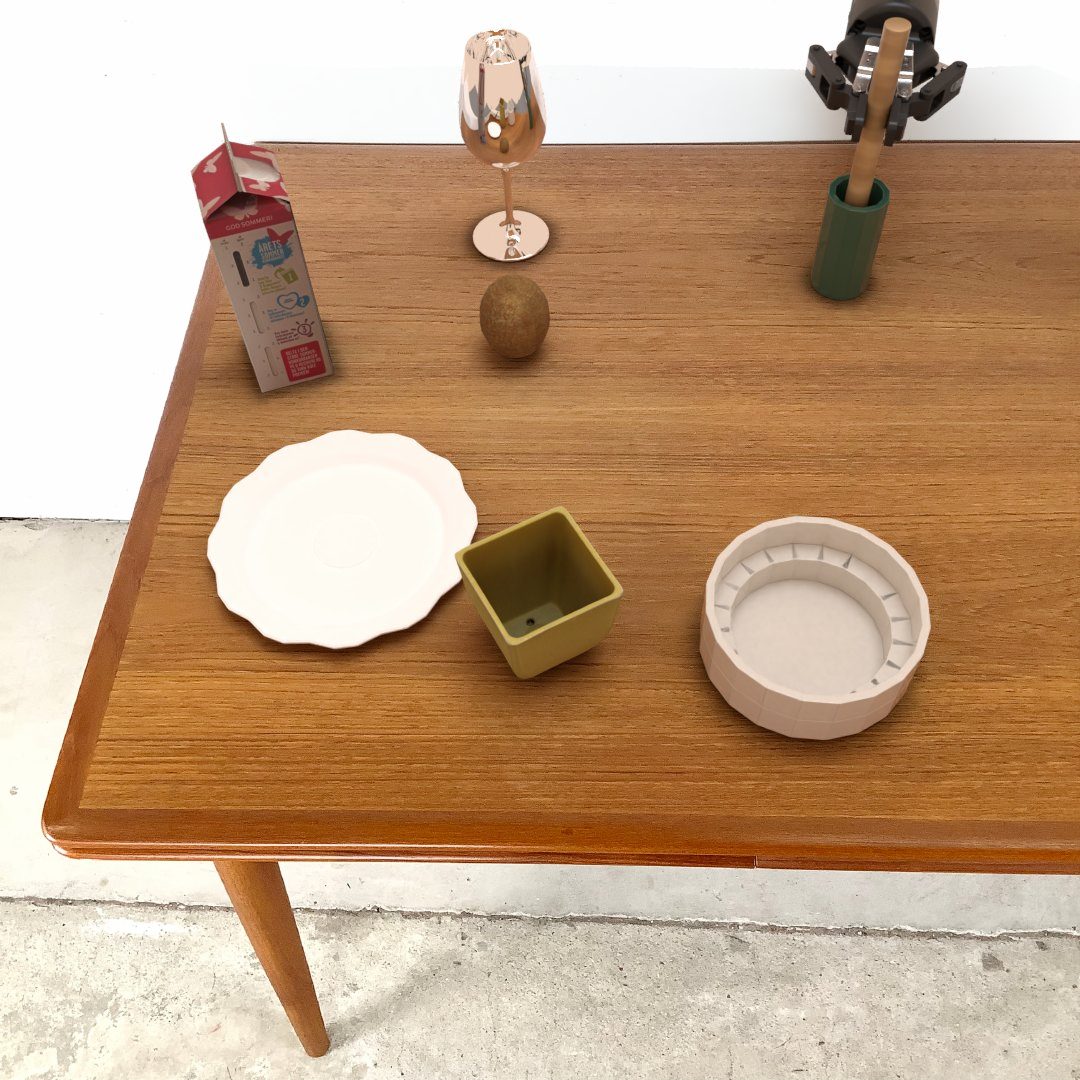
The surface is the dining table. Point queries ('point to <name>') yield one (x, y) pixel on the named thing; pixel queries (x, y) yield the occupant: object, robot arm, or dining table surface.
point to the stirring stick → (877, 110)
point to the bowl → (812, 626)
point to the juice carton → (262, 263)
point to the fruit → (514, 316)
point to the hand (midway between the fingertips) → (874, 134)
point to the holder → (848, 241)
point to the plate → (341, 538)
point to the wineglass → (503, 132)
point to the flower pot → (541, 591)
